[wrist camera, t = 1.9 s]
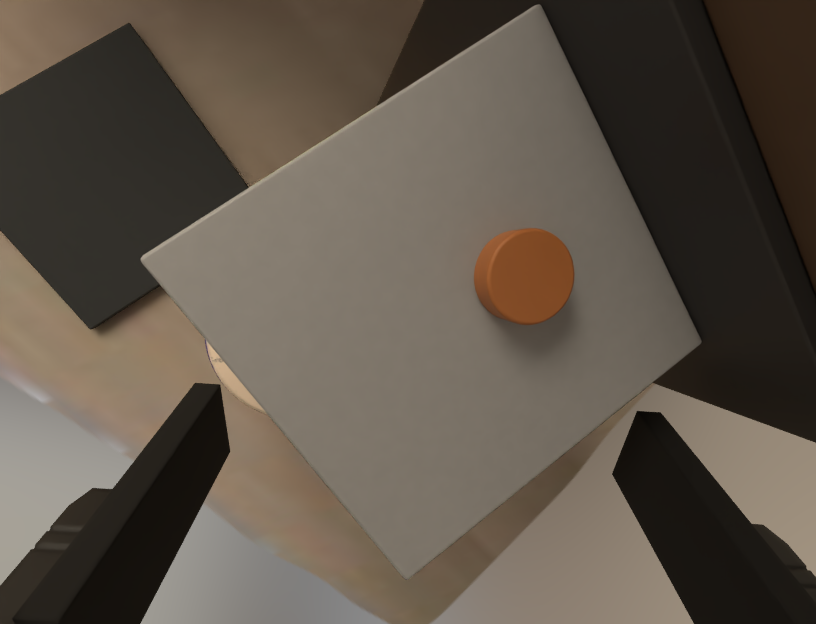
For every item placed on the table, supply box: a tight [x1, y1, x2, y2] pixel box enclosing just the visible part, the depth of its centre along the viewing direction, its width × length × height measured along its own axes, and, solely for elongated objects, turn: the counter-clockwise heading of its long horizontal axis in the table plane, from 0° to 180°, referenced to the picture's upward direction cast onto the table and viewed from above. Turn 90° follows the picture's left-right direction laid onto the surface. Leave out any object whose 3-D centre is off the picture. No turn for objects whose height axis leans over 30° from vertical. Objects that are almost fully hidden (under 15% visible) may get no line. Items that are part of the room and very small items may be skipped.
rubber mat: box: [0, 23, 249, 329], centre depth 26 cm, size 13×13×1 cm
